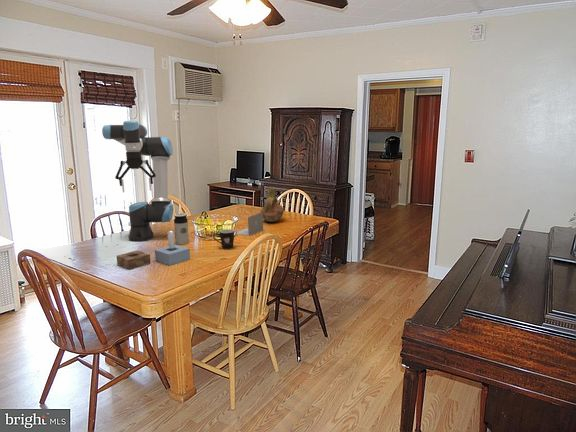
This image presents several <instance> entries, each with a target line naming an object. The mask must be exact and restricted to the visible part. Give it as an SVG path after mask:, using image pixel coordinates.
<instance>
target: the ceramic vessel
mask: <svg viewBox="0 0 576 432" xmlns="http://www.w3.org/2000/svg"><path fill="white" fill-rule="evenodd" d="M266 191H267V192H266V195H267V198H266V199H265V202H264V206H263V207H262V208H261V209H260V211H259V213H261V212H263V221H265V222H268V223H276V222H278V221H280V219H282V217H283V215H284V214H283V213H284V212H285V211H284V206H282V204H279V203H278V201H279V199H278V197H277V188H275V187H273V188H267V190H266Z"/></svg>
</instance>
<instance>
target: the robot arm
mask: <svg viewBox="0 0 576 432" xmlns="http://www.w3.org/2000/svg"><path fill="white" fill-rule="evenodd" d="M101 129H102V130H101V133H102V136H103V138H104V139H105V140H114V141H116V142H117V143H119V144H121V145H123V146H124V147H125V151H126V152H125V155H126V160H120V162H119V163H120V164H119V167H118V169H117V173H116V175H115V177H114V178H115V179H116V180H118V182H119V187H121V189H122V193H125V184H124V179H123V178H124V177H125V176H126V174H127V173H128V172H129V170H138V169H141V170H142V172H144V173H145V174H146V175H147V176H148V184H149V191H150V192H151V191H152V185H153V199H152V200H151V201H150V204H149V202H148V201H139V202H135V203H134V202H133V203H131V204H130V205H129V206H128V211H129V212H128V215H129V223H130V224H129V225H130V229H129V234H128V240H129V241H131V242H145V241H149V240H153V238H154V237H155V236H154V232H153V230H152V227H151V225H150V224H151V223H169V222H171V221H172V218H173V216H174V205H173V204H172V203H171V200H170V199H169V198H168V197H169V191H168V188H169V186H168V184H169V183H168V182H169V181H168V161H169V160H170V158H171V156H172V155H174V154H173V153H174V151H173V145H172V142H171V139H170V138H169V137H167V136H166V137H165V136H152V137H150V136H147V135H148V130H147V127H146V126H144V125H142V124H140V123H139V121H138V120H124V121H123V123H122V124H107V125H103V126H102V128H101ZM142 156H146V157H149V156H150V160H152V161H153V162H152V167H153V168H152V167H151V165H150V163H149V160H148V159H145V160H143V157H142ZM143 164H144V165H146V166H147V168H148V169H149V171H150V172H151V173H150V172H149V171H148V170H146V169H145V167H143V166H142V165H143ZM125 165H127V167H126V169H125V170H124V171H123V172H122V174H121V171H122V169H123V166H125ZM120 174H121V175H120Z"/></svg>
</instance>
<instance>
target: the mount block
mask: <svg viewBox="0 0 576 432" xmlns="http://www.w3.org/2000/svg"><path fill="white" fill-rule="evenodd" d="M150 264H151V255H150V253H146V252H144V251H141V250H133V251H130V252H126V253H125V252H124V253H122V254H117V255H116V265H117V266H119V267H121V268H124V269H127V270H130V271H131V270H134V269H137V268H140V267H144V266H147V265H150Z"/></svg>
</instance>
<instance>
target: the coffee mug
mask: <svg viewBox="0 0 576 432" xmlns="http://www.w3.org/2000/svg"><path fill="white" fill-rule="evenodd" d="M234 233H235V230H234V229H230V228H228V229H220V230H219V232H218V233H214V234H213V235H212V236H213V237H212V238H213V240H215V241H216V242H218V243H219V244H221V248H222V249H223V250H230V249H234V238H235V234H234ZM216 235H217V236H219V238H220V240H218V239H216V238H215V236H216Z"/></svg>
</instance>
